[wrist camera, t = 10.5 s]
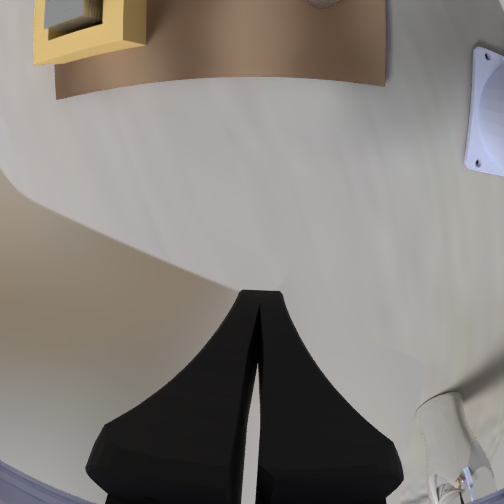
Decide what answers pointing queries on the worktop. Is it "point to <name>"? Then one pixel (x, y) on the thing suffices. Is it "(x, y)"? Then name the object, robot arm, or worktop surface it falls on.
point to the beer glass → (452, 453)
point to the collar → (91, 33)
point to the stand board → (230, 42)
